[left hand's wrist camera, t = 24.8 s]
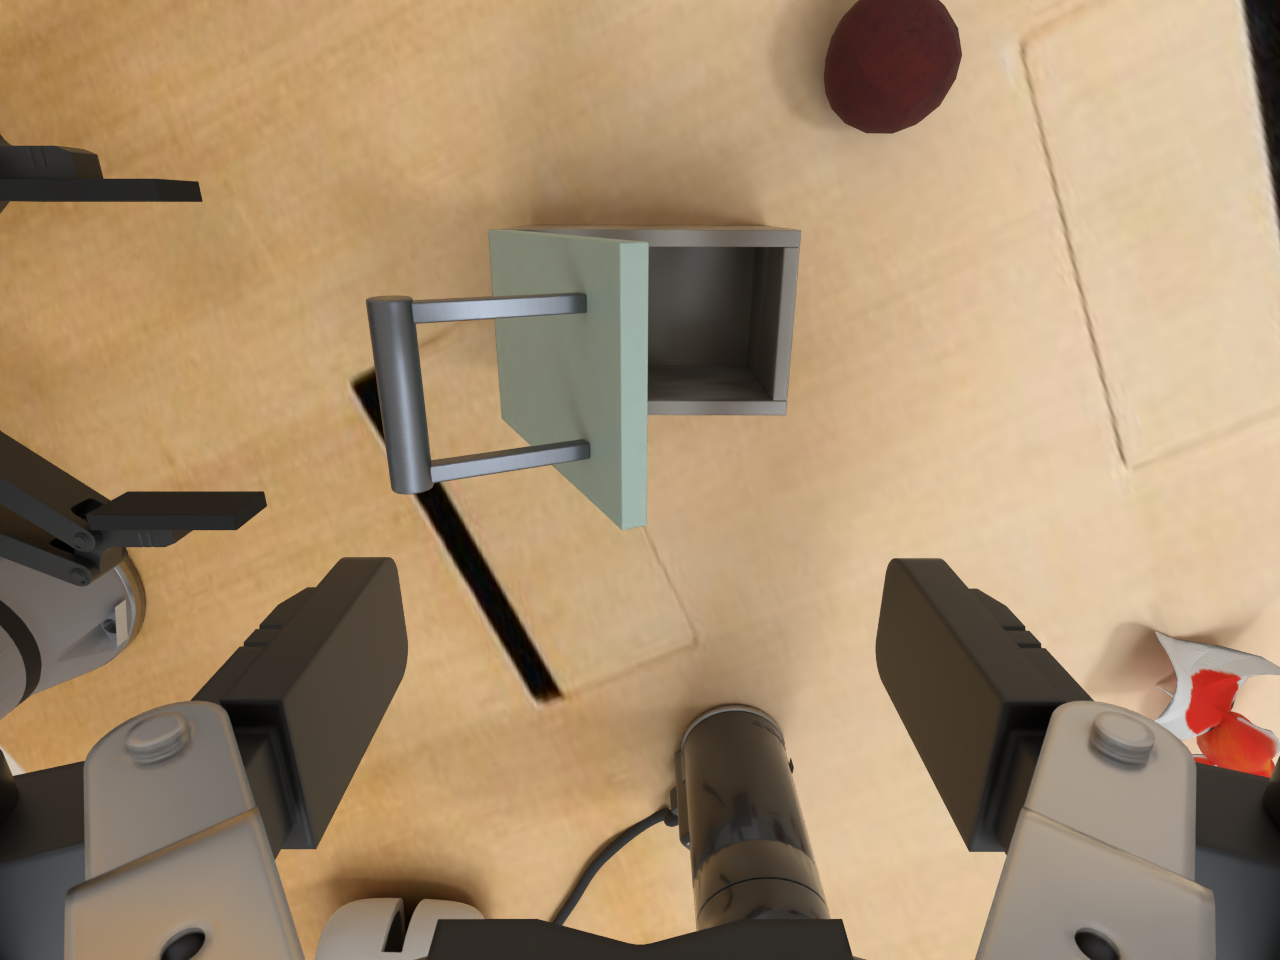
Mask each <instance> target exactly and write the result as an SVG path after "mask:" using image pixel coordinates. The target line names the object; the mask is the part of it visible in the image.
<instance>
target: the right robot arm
mask: <svg viewBox="0 0 1280 960" xmlns="http://www.w3.org/2000/svg"><path fill="white" fill-rule="evenodd" d="M10 201H34V202H202V197H201V192H200V188H199V183H198V182H194V181H179V180H164V179H103V175H102V171H101V167H100V163H99V159H98V156H97V154H94V153H92V152H89V151H87V150H84V149H78V148H69V147H60V146H12V145H10V144H9V143H8V142H7V141H5V140H4V138H3V137H2V136H1V135H0V213H1V212H2V211H3V209H4V208H5V207H6V206H7V204H8V203H9V202H10ZM266 506H267V504H266V499H265V494H264V492H126V493H124V494H123V495H121V496H119V497H117V498H115V499H113V500H112V501H110V500H109V499H107V498H106V497H104V496H102V495H101V494H99V493H98V492H96V491H95V490H93V489H91V488H90V487H88V486H87V485H85V484H83V483H82V482H80V481H79V480H77V479H76V478H74V477H72V476H71V475H69V474H68V473H66V472H64V471H63V470H61V469H60V468H58V467H57V466H55V465H53V464H52V463H50V462H49V461H47V460H45V459H44V458H42V457H41V456H39V455H38V454H36V453H34V452H33V451H31V450H30V449H28V448H26V447H25V446H23V445H22V444H20V443H19V442H17V441H15V440H14V439H12V438H11V437H9V436H7V435H6V434H4V433H3V432H1V431H0V720H1V719H2V718H3V717H4V716H6V715H7V714H8V713H9V712H11V711H12V710H13V709H14V708H15V707H17V706H18V705H19V704H21V703H22V702H23V701H24V700H26V699H27V698H28V697H29V696H31V695H33V694H35V693H38V692H40V691H43V690H45V689H48V688H50V687H53V686H55V685H58V684H60V683H63V682H65V681H68V680H70V679H73V678H75V677H78V676H80V675H83V674H85V673H88V672H90V671H93V670H95V669H97V668H99V667H101V666H103V665H105V664H107V663H108V662H109V661H111V660H112V659H113V658H115V657H116V656H117V655H118V654H119V653H121V652H122V651H123V650H124V649H125V648H126V647H128V646H129V645H130V644H131V643H132V641H133V640H134V639H135V638H136V636H137V635H138V633H139V631H140V629H141V627H142V624H143V621H144V616H145V597H144V591H143V587H142V584H141V581H140V579H139V576H138V574H137V572H136V570H135V568H134V566H133V565H132V563H131V562H130V560H129V559H128V557H127V556H128V552H127V550H126V548H125V547H166V546H169V545H171V544H174V543H176V542H177V541H179V540H180V539H181V538H183V537H184V536H186V535H187V534H188V533H190V532H191V531H193V530H237V529H239V528H240V527H241V526H242V525H244V524H245V523H246V522H247V521H249V520H250V519H251V518H252V517H254V516H255V515H256V514H258V513H259V512H260V511H261V510H263V509H264V508H265V507H266Z"/></svg>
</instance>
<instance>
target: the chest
mask: <svg viewBox="0 0 1280 960" xmlns="http://www.w3.org/2000/svg"><path fill="white" fill-rule="evenodd" d="M506 229H507V230H518V231H530V232H541V233H552V234H564V235H575V236H586V237H598V238H609V239H620V240H632V241H643V242H648V243H649V260H648V403H647V415H786V410H787V401H786V400H787V396H788V384H789V371H790V359H791V347H792V335H793V323H794V311H795V298H796V286H797V274H798V262H799V250H800V249H799V247H800V239H801V230H795V229H787V228H779V227H771V226H690V225H527V226H521V227H514V228H506ZM501 230H505V229H501Z"/></svg>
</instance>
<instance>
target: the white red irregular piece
mask: <svg viewBox="0 0 1280 960" xmlns="http://www.w3.org/2000/svg"><path fill="white" fill-rule="evenodd" d="M1154 632H1155V634H1156V636H1157V638H1158V640H1159V641H1160V643H1161V645H1162V646H1163V648H1164V649H1165V651H1166V653H1167V654H1168V656H1169V658H1170V660H1171V663H1172V665H1173V668H1174V671H1175V674H1176V677H1177V680H1178V682H1177V687H1176V691H1175V694H1172V693H1170V692H1168V691H1166V690H1164V689H1163V688H1161V687H1158V688H1160V689H1161V690H1162V691H1164V692H1165V693H1167V694H1168V695H1169V696H1171V697H1172V700H1171V701H1170V703H1169V705H1168V707H1167V708H1166V709H1165V710H1164V712H1163V713H1162V714H1161V715H1160V717H1159V718H1158V719H1157V720H1155V722H1156V723H1158V724H1160V725H1161V726H1163V727H1164V728H1166V729H1167V730H1169V731H1170V732H1171V733H1173V734H1174V735H1175V736H1176V737H1177V738H1179V739H1180V740H1185V739H1190V738H1193V737H1196V736H1197V744H1198V746H1199V748H1200V750H1201V752H1202V753H1203V754H1192V755H1193V758H1194V760H1195V762H1199V763H1203V764H1207V765H1212V766H1215V765H1217V766H1218V767H1221V768H1226V769H1231V770H1236V771H1240V772H1245V773H1250V774H1254V775H1259V776H1264V777H1269V778H1271V775H1272V773H1273V770H1274V768H1275V765H1274V763H1273V761H1272V759H1273V757H1275V756H1276V755H1277V754H1278V753H1279V751H1280V742H1279V739H1278V738H1277V737H1276V735H1275V734H1274V733H1273V732H1272V731H1270V730H1266V729H1262V728H1260V727H1257V726H1255V725H1254V724H1252V723H1251V722H1250V721H1249V720H1248V719H1247V718H1245V717H1244V716H1242V715H1241V714H1238V713H1235V712H1231V709H1232V707H1233V704H1234V701H1235V698H1236V695H1237V692H1238V690H1239V688H1240V687H1241V686H1242V685H1243V684H1244V683H1245V681H1246V680H1247V679H1248V677H1251V676H1255V675H1280V667H1279V666H1277V665H1275V664H1273V663H1272V662H1270V661H1268V660H1266V659H1264V658H1263V657H1260V656H1257V655H1253V654H1249V653H1245V652H1241V651H1238V650H1234V649H1230V648H1226V647H1222V646H1217V645H1211V644H1204V643H1198V642H1191V641H1185V640H1179V639H1174V638H1171V637H1169V636H1167V635H1165V634H1162V633H1159V632H1157V631H1154Z"/></svg>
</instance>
